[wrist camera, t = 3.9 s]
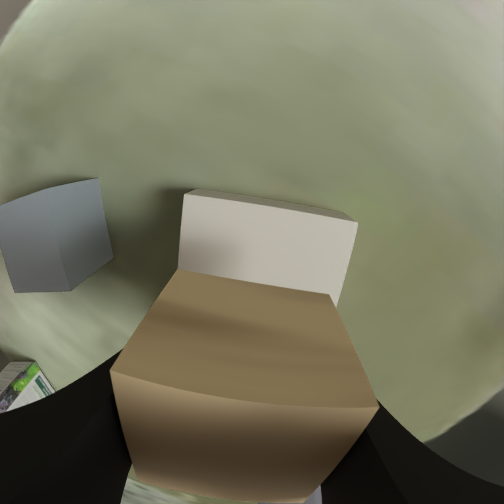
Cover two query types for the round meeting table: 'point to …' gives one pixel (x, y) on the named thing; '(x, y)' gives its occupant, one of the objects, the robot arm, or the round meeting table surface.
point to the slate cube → (55, 237)
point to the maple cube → (240, 390)
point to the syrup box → (22, 385)
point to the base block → (266, 241)
